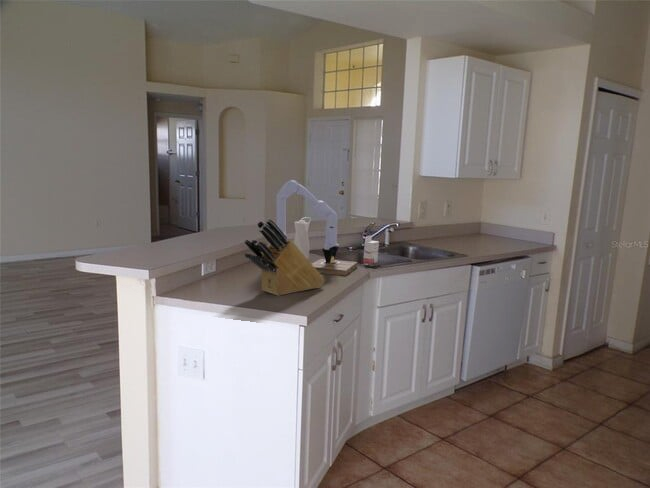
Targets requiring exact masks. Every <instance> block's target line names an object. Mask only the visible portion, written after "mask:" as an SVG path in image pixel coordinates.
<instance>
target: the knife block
mask: <svg viewBox="0 0 650 488" xmlns="http://www.w3.org/2000/svg"><path fill="white" fill-rule="evenodd" d="M257 227H258V228H259V229H258V232H260V233H261V234H262V236H263V237H264V239H265V240H266V241H267V242H268V243H269V246H267V245H266V244H265V243H264V242H263V241H257V240H255V239H253V240H252V241H250V240H248V239H245V240H244V241H243V243H244V244H245V245H246V246H247V247H248V248H249V249H250V251H251V252H252V253H254V254H255V255H254V254H251V253H244V257H245V258H246V259H248V260H249V261H250V262H252V263H253V264H254V265H256V267H258V268H259V269H260V270H261V291H264V292H265V291H266V292H265V293H269V294H272V295H275V296H276V295H277V297H279V296H281V295H286V294H291V293H296V292H302V291H308V290H312V289H318V288H322V287H323V285H324V283H325V282H326V280H325V279H324V277H323V276H322V275H321V273H318V271H317V270H316V269H315V268H314V266H313V265H312V262H310V260H309V258H308V259H307V258H306V257H305V256H304V254H303V253H302V252H301V251H300V250H299V248H298V247H297V246H296V245H295V244H294V240H290V239H288V237H287V235H286V236H285V235H284V234H283V232H282V231H281V230H280V229H279V227H278V226H277V223H276V222H274V221H273V220H272V219H270V218H267V219H266V220H265V223H264V222H263V221H258V223H257Z"/></svg>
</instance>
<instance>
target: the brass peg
mask: <svg viewBox="0 0 650 488" xmlns="http://www.w3.org/2000/svg"><path fill="white" fill-rule="evenodd" d="M326 264H334V256H331V262H330V263H326Z"/></svg>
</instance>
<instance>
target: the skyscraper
mask: <svg viewBox="0 0 650 488" xmlns="http://www.w3.org/2000/svg"><path fill="white" fill-rule="evenodd" d="M304 219H309V221H308V222H306V220H304ZM311 220H312V218H311V217H309V216H304V217H302V218H301V219H299V220H297V221H296V220H295V221H294V229H295V235H294V239H293V243H294V244H295V245H296V246H297V247H298V248H299V250H300V251H301V252H302V253H303V254H304V256H305V257H306V258H307V259H308V260H309V255H310V240H309V234H308V232H309V229H310V228H309V227H310V223H311Z"/></svg>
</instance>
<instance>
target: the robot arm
mask: <svg viewBox="0 0 650 488" xmlns="http://www.w3.org/2000/svg"><path fill="white" fill-rule="evenodd" d="M295 193H296V195H301V196H303V197H304V198H305V199H306V200H307V201H308V202H310V203H311V204H313V206H314V210H315V211H316V212H317V213H318V214H319V215H320V216H322V217H323V218H325V219H326V226H325V241H324V242H325V243H324V248H322V253H323V255H324V259H325V261H326V263H330V262H331V256H334V260H336V256H337V252H338V251H339V248H340V244H339V243H337V242H338V241H337V240H338V239H337V238H338V220H339V216H338V214H337V212H336V210H335V211H334V208H331V207H330V206H329V205H328V204H327V202H326V201H325V200H324V201H323V200H318V199H317V198H316V197H315V195H313V194H312V193H311V192H310V191H309V190H308V189H307V188H306V187H304V186H303V185H302V184H300V183H298V181H296V180H295V179H290V180H288V181H287V182H286V183H284V184H283V185H282V187H281V188H280V190H279V191H278V193H277V194H276V225H277V226H278V227H279V229H280V230H281V231H282V232H283V234H284V235H285V236H286V237H287V229H286V228H287V219H286V218H287V216H286V215H287V212H286V211H287V209H286V207H287V201H286V200H287V199H288V198H289V197H290V196H291V195H293V194H295Z"/></svg>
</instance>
